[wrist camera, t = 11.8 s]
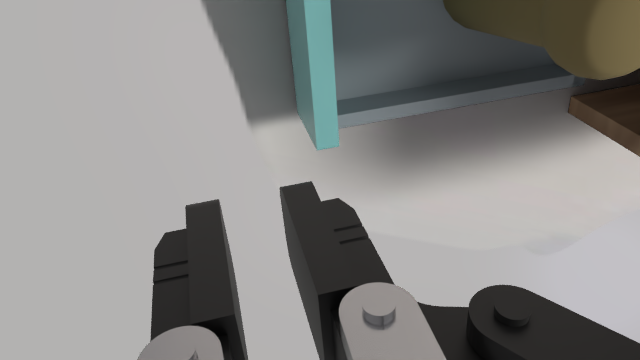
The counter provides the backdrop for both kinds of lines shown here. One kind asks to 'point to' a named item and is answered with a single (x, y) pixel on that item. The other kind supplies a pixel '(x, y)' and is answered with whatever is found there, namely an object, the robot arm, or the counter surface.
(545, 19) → the olive pawn figure
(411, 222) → the counter surface
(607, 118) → the wooden drawer cabinet
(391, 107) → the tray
